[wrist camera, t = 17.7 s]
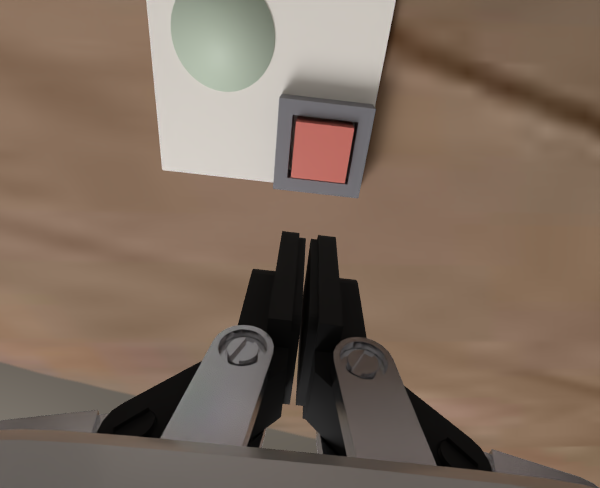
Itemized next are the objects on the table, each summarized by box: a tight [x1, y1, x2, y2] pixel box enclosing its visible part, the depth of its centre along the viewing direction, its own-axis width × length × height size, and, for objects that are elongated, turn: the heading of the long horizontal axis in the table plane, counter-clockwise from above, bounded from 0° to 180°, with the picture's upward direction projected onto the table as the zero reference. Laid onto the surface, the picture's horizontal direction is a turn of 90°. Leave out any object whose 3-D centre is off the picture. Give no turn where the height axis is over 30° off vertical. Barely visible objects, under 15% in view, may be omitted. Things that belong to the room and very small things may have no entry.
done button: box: [291, 116, 354, 183], centre depth 27 cm, size 4×4×2 cm
